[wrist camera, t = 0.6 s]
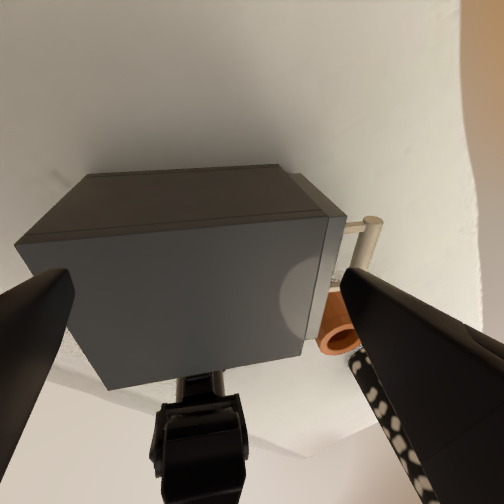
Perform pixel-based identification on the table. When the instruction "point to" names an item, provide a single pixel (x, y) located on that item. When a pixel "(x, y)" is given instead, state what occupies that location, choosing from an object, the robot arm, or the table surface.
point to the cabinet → (183, 268)
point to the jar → (336, 327)
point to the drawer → (336, 250)
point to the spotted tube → (391, 424)
